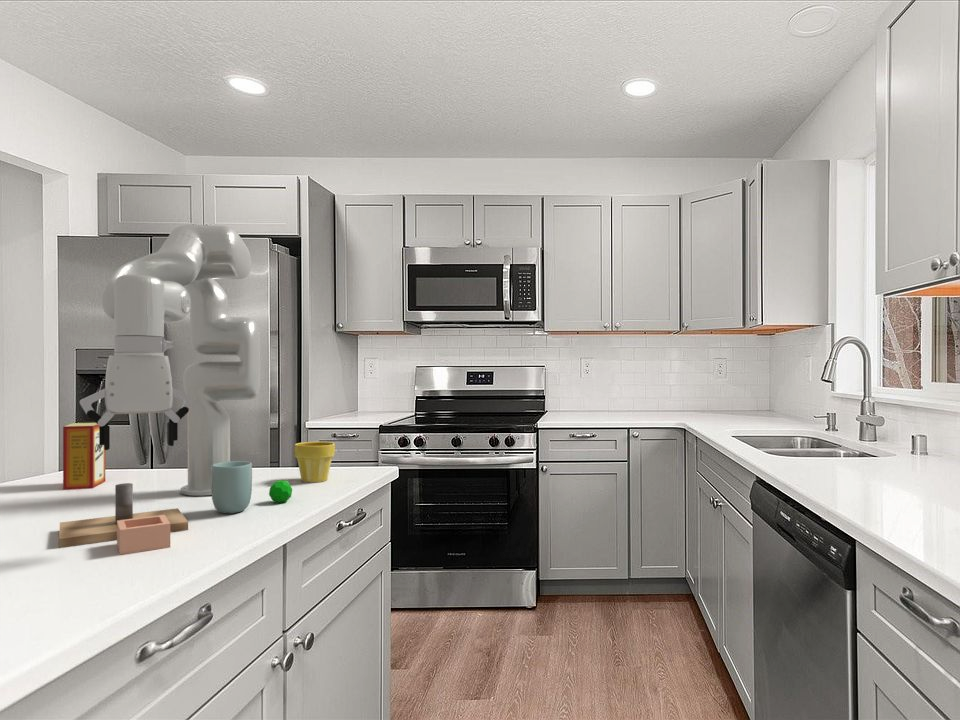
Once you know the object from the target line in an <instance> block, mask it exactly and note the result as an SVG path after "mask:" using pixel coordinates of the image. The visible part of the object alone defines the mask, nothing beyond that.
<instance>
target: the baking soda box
mask: <svg viewBox="0 0 960 720" xmlns="http://www.w3.org/2000/svg"><path fill="white" fill-rule="evenodd" d="M62 447H63V448H62V458H63V459H62V466H63V467H62V471H63V472H62V473H63V474H62V484H63V485H62V490H63V491H64V490H66V491H67V490H69V491H70V490H81V489H82V490H86V489H94V488H96V487H98V486H99V485H102V484H103V483H105V482H106V450H104V445H99V425H98V424H97V423H95V422H77V423H76V422H75V423H70V424H67V425H64V426H62Z"/></svg>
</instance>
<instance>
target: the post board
mask: <svg viewBox="0 0 960 720" xmlns="http://www.w3.org/2000/svg"><path fill="white" fill-rule="evenodd" d="M133 490H134V489H133V483H132V482H128V483H127V482H126V483H125V482H123V483H118V484H116V485H115V491H114V492H115V494H114V495H115V499H114V500H115V501H114V502H115V507H114V508H115V512H114V513H115V514H114V515H110V516H104V517H102V516H101V517H94V518H86V519H80V520H79V519H78V520H70V521H62V522H59V534H58V537H59V538H58V548H67V547H73V546H74V547H75V546H81V545H87V544H88V545H89V544H96V543H104V542H110V541H117V521H118V520H126V519H134V518H142V517H150V516H158V515H165V516H166V518H167V519H168V521H169V522H170V533H176V532H181V531H188V530H189V521H188V520H187V518H186V517H185V515H184V514H183V513H182V511H181V510H180V508H178V507H177V508H170V509H169V508H168V509H162V510H161V509H160V510H154V511H153V510H152V511H144V512H136V513H134V511H133V510H134V509H133V508H134V507H133V500H134V498H133V494H134V493H133Z"/></svg>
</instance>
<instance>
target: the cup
mask: <svg viewBox="0 0 960 720" xmlns="http://www.w3.org/2000/svg"><path fill="white" fill-rule="evenodd" d="M252 487H253V464H252V462H251V461H246V460H233V461H232V460H230V461H229V462H221V463H216V464H213V465H212V467H211V491H212V495H211V500H212V504H213V506H214V509H215V510H216V511H217V512H219V513H221V514H227V515H228V514H229V515H230V514H238V513H241V512H243V511H244V510H246V509H247V508H248V507H249V505H250V504H251V503H250V502H251V499H252V491H253V489H252Z"/></svg>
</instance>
